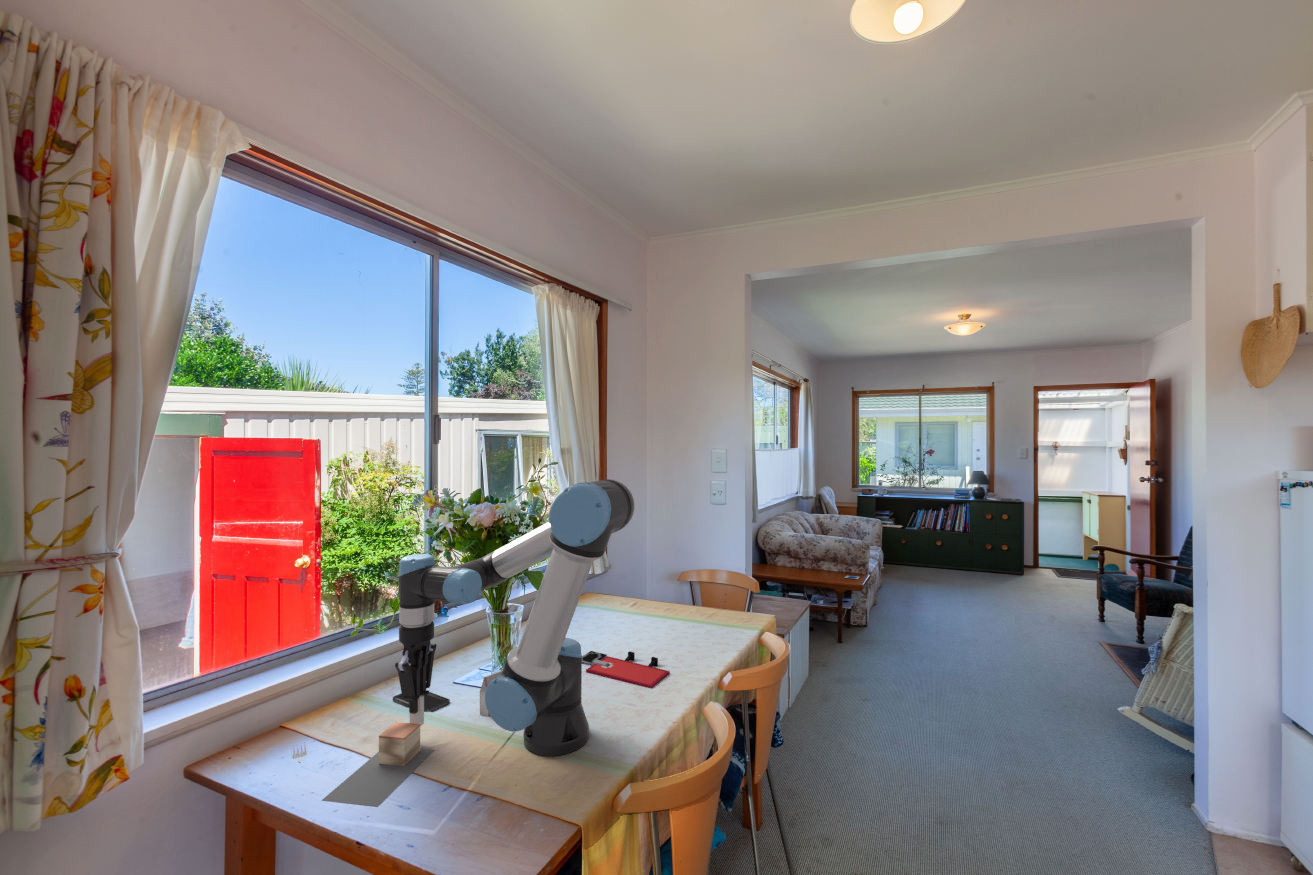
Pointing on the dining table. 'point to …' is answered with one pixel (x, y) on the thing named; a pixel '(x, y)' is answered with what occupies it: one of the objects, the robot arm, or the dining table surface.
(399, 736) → the cube
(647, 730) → the dining table surface
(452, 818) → the dining table surface
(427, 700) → the phone
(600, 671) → the red board with handle
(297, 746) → the fork
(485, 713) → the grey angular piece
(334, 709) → the dining table surface
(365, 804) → the mat
